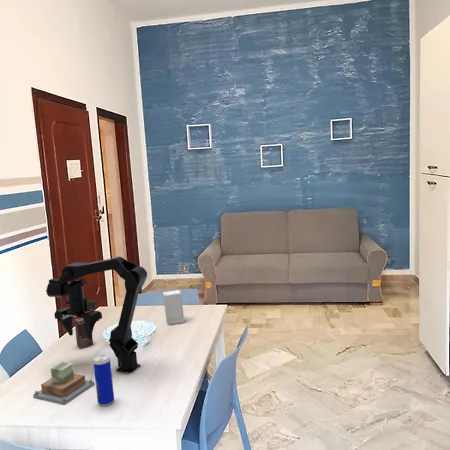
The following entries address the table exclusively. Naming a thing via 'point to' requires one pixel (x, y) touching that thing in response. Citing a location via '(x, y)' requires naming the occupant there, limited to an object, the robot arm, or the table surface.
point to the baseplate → (63, 399)
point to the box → (82, 334)
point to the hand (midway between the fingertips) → (80, 336)
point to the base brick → (63, 386)
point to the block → (62, 373)
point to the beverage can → (103, 380)
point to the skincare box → (173, 307)
